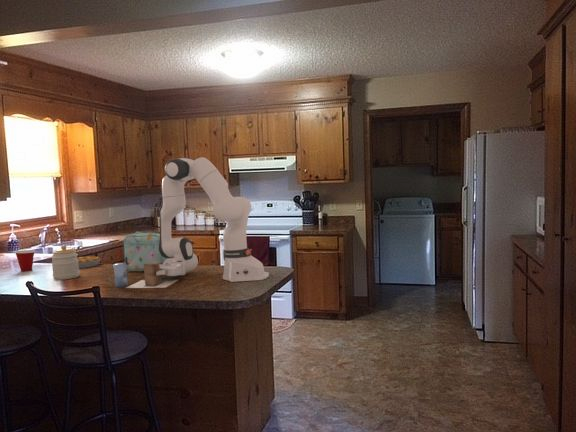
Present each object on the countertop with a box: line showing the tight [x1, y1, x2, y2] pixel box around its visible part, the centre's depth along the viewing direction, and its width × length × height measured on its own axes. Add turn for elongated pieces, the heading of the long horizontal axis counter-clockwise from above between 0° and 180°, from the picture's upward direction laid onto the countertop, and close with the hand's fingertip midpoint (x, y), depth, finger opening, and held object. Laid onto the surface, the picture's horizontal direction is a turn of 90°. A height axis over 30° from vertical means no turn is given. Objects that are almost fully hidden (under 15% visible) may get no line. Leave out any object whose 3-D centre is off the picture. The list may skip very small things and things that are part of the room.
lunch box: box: [122, 231, 171, 272], centre depth 260 cm, size 27×10×21 cm, turn 72°
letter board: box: [125, 278, 180, 289], centre depth 223 cm, size 20×16×1 cm
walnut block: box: [143, 262, 162, 286], centre depth 220 cm, size 5×5×10 cm
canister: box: [113, 262, 129, 288], centre depth 221 cm, size 6×6×11 cm
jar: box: [50, 244, 80, 281], centre depth 251 cm, size 13×13×18 cm
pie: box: [77, 255, 101, 269], centre depth 286 cm, size 22×22×5 cm
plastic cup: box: [14, 249, 36, 272], centre depth 279 cm, size 11×11×12 cm
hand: (150, 273), depth 219 cm, fingers closed on walnut block, 5 cm apart
